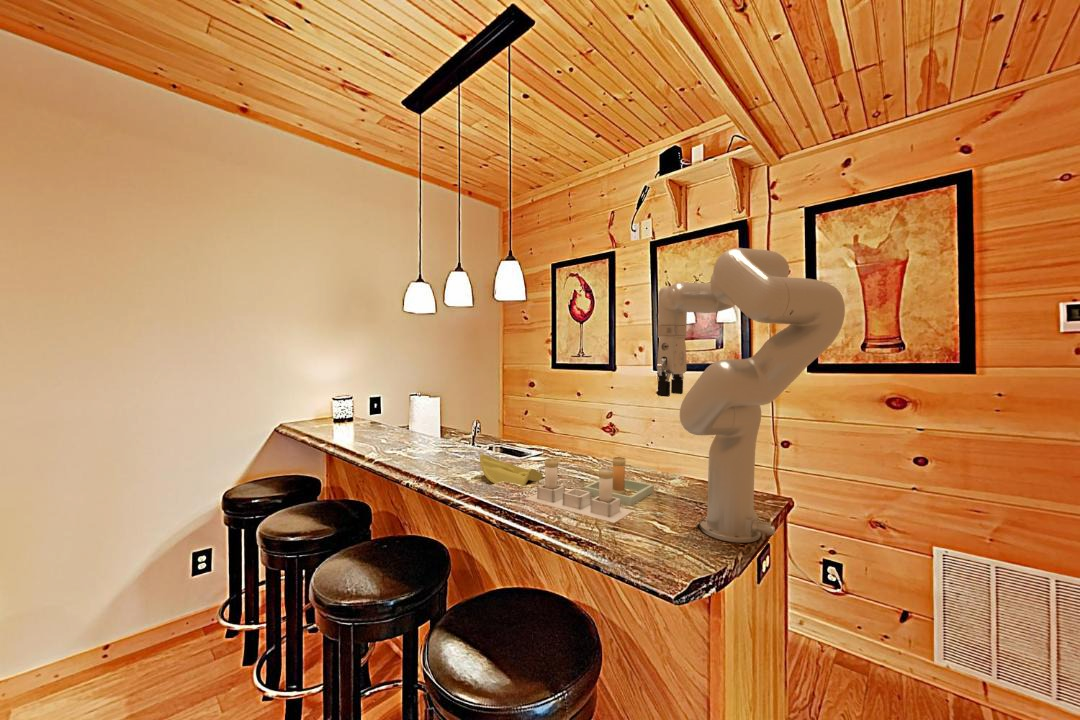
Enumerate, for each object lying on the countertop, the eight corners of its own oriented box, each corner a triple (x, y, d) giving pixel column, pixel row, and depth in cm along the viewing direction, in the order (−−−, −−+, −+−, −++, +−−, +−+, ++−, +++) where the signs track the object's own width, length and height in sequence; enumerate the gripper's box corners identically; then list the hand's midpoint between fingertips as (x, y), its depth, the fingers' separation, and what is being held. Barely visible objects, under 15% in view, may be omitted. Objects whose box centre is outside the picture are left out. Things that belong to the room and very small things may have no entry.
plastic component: (545, 475, 140) (529, 467, 132) (538, 499, 138) (520, 492, 130) (496, 460, 151) (478, 452, 144) (488, 482, 149) (469, 475, 141)
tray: (653, 497, 127) (653, 484, 127) (631, 511, 116) (631, 497, 116) (608, 487, 136) (608, 475, 135) (583, 499, 124) (583, 486, 124)
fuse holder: (546, 495, 128) (546, 478, 128) (633, 516, 112) (633, 498, 112) (523, 504, 120) (524, 487, 120) (614, 529, 104) (614, 509, 104)
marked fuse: (627, 494, 126) (627, 458, 126) (621, 497, 123) (622, 460, 123) (615, 492, 128) (616, 456, 128) (609, 495, 125) (610, 458, 125)
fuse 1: (560, 497, 121) (560, 459, 121) (552, 501, 118) (553, 462, 118) (549, 495, 123) (550, 457, 123) (541, 498, 120) (542, 460, 120)
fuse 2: (614, 511, 112) (615, 470, 111) (608, 515, 109) (609, 473, 109) (602, 508, 114) (603, 467, 113) (595, 512, 111) (596, 470, 111)
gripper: (673, 331, 117) (672, 398, 118) (695, 333, 131) (694, 393, 132) (646, 331, 122) (644, 396, 122) (670, 333, 136) (669, 391, 136)
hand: (670, 394), depth 127 cm, fingers open, 9 cm apart
